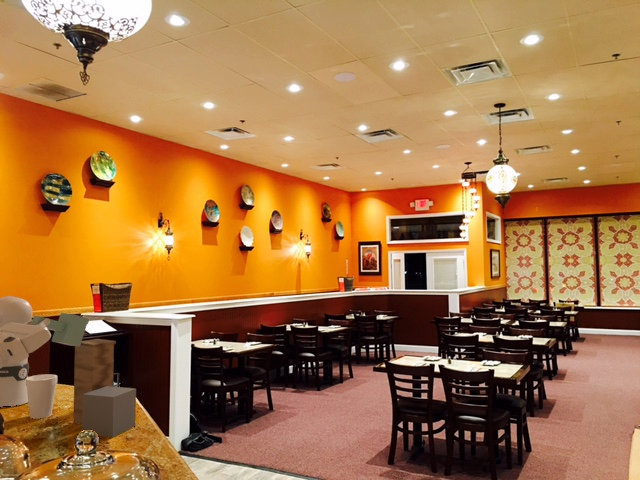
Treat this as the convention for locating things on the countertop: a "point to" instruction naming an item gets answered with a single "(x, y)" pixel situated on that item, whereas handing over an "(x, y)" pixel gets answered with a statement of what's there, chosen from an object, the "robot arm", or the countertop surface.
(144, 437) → the countertop surface
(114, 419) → the riser
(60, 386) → the countertop surface
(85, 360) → the stand
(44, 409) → the foam cup
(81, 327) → the green mallet
